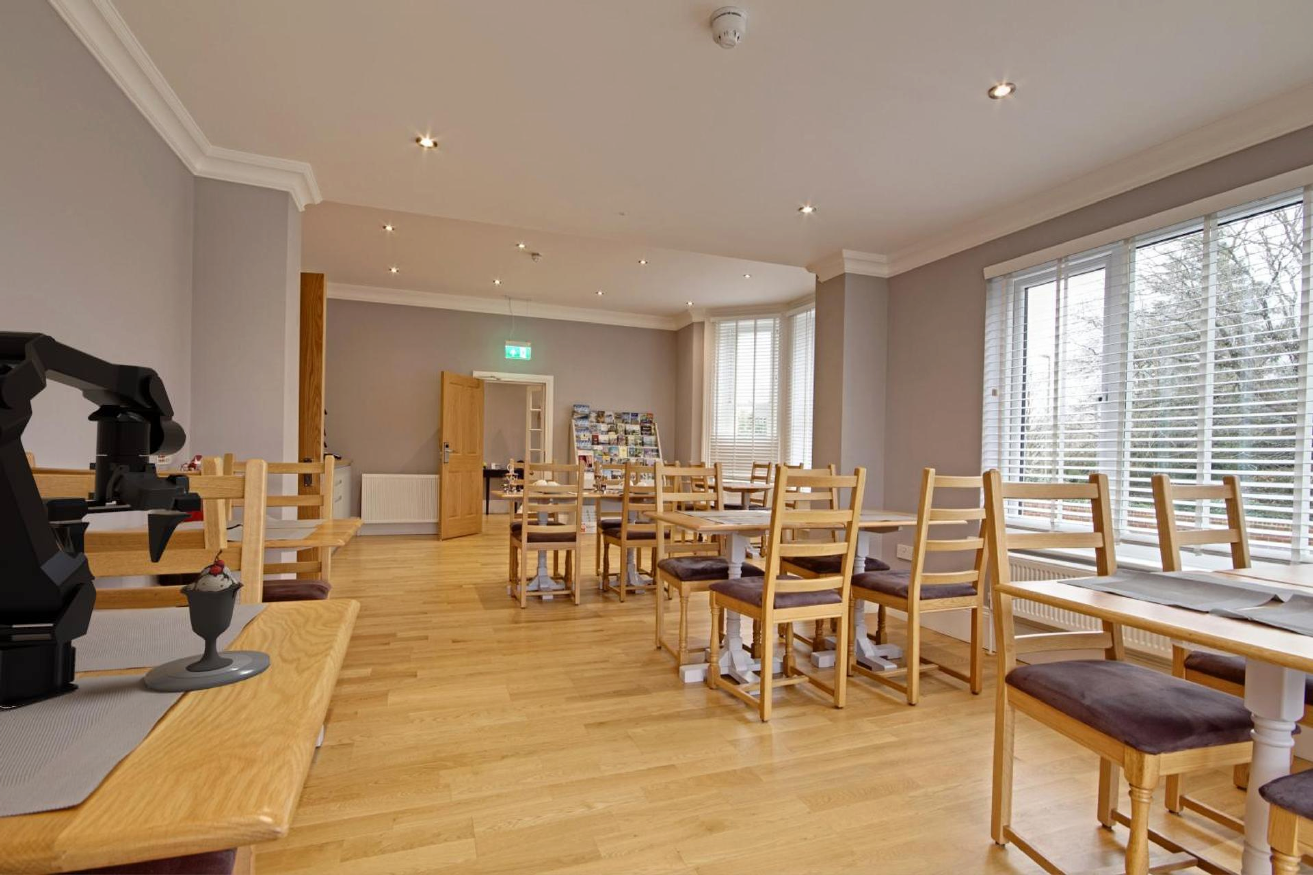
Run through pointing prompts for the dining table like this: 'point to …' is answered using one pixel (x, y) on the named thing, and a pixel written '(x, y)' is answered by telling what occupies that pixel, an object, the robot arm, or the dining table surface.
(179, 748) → the dining table surface
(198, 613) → the sundae
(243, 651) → the slate plate
